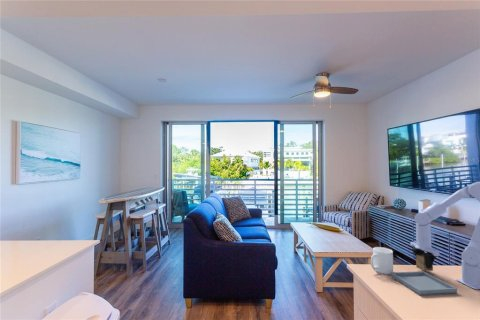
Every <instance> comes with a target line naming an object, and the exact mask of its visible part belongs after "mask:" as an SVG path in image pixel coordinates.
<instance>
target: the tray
mask: <svg viewBox="0 0 480 320" xmlns="http://www.w3.org/2000/svg"><path fill="white" fill-rule="evenodd" d="M390 278H392V279H393V280H394V281H396V282H398V283H399V284H401V285H403V286H404V287H406V288H407V289H409V290H410V291H412V292H414V293H415V294H417V295H418V296H421V297H422V296H435V295H438V296H440V295H454V294H458V288H457V287H455V286H453V285H452V284H449V283H448V282H445V281H444V280H442V279H440V278H437V277H436V276H434V275H433V274H432V275H431V274H429V273H428V272H427V271H423V270H421V271H398V272H395V271H393V273H391V274H390Z"/></svg>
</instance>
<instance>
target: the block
mask: <svg viewBox="0 0 480 320" xmlns="http://www.w3.org/2000/svg"><path fill="white" fill-rule="evenodd" d="M415 259H416V260H415V262H416V263H415V264H416V268H417V269H419V270H421V271H424V272H431V271H434V266H433V265H434V263H433V264H432V268H426V263H425V258H424V255H416V257H415Z"/></svg>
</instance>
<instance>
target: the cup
mask: <svg viewBox="0 0 480 320" xmlns="http://www.w3.org/2000/svg"><path fill="white" fill-rule="evenodd" d="M393 253H394V251H393V250H392V249H390V248H387V247H382V246H381V247H380V246H375V247H373V248H372V255H371V257H370V266H371V268H372V269H373V270H374V272H377V273H379V274H382V275H391V273H394V254H393Z"/></svg>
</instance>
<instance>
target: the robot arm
mask: <svg viewBox="0 0 480 320" xmlns="http://www.w3.org/2000/svg"><path fill="white" fill-rule="evenodd" d="M469 198H474V199H476V200H478V202H479V203H480V181H475V182H472V183H471V184H469V185H467V186H465V187H462V188H460V189H458V190H457V191H455V192H453V194H451V195H450V196H448V197H446V198H445V199H444V200H442V201H441V202H437V201H436V202H431V203H429V206H427V207H426V208H423V209H420V212H417V213H416V214H415V216H414V222H416V223H415V225H416V226H415V231H416V232H415V239H416V242H415V241H410V243H409V244H410V246H411V247H412V248H411V250H412V253H413V254H414V256H415V258H416V255H424V258H425V263H426V268H432V264H433V265H434V261H435V260H436V258H437V257H440V251H439V250H437V249H435V248H433V247H432V230H431V222H432V221H434V220H437V219H438V218H440V217H441V216H442V215H444V214H446V213H447V209H448V208H449V207H451V206H452V205H454V204H455V203H458V202H459V201H461V200H463V199H469ZM460 256H461V278H457V279H456V281H457V282H459V283H461V284H463V285H466V286H467V287H469V288H472V289H474V290H480V216H479V218H478V220H477V223H476V225H475V227H474V230H473V233H472V236H471V239H470V240H469V243H468V245H467V246H466V247H464V250H463V251H462V252H461V253H460Z"/></svg>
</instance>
